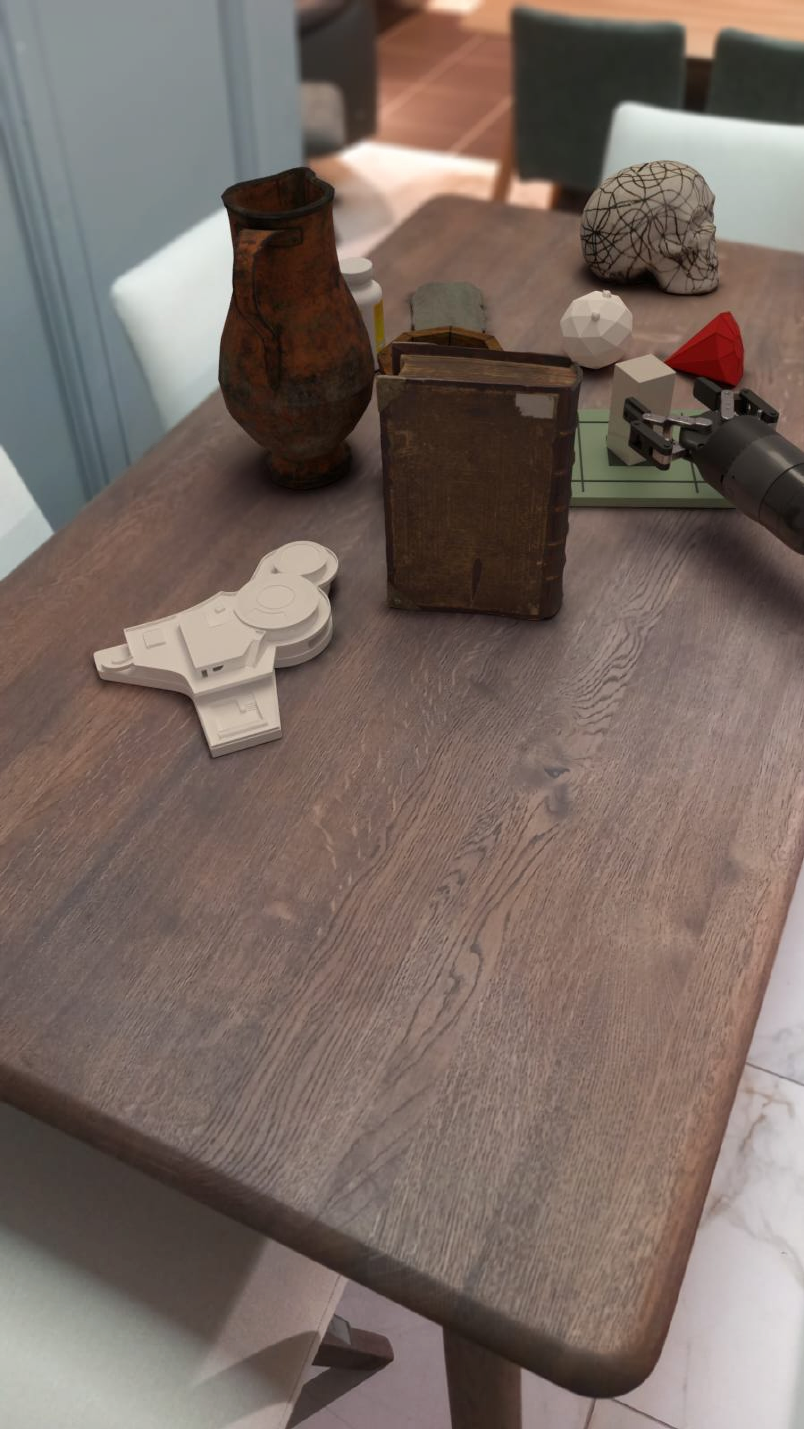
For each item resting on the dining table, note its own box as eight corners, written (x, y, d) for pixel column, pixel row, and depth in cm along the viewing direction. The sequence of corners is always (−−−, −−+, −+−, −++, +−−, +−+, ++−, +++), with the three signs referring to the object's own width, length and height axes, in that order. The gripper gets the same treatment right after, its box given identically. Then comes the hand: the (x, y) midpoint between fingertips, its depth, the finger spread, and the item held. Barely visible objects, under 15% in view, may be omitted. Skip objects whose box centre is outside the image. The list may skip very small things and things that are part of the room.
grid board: (713, 418, 129) (715, 408, 128) (735, 508, 116) (737, 497, 115) (542, 417, 130) (542, 407, 129) (545, 506, 118) (545, 495, 117)
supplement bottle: (373, 347, 144) (368, 249, 135) (394, 369, 140) (390, 269, 131) (326, 359, 142) (317, 260, 133) (346, 381, 138) (338, 281, 129)
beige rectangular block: (640, 435, 124) (651, 353, 117) (663, 455, 121) (676, 372, 114) (605, 446, 123) (614, 363, 116) (628, 466, 120) (639, 382, 113)
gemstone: (641, 375, 133) (720, 357, 127) (650, 314, 136) (728, 294, 130) (670, 414, 140) (747, 399, 134) (679, 356, 142) (755, 338, 136)
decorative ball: (641, 402, 136) (619, 325, 127) (564, 399, 142) (538, 325, 133) (665, 352, 140) (645, 273, 130) (589, 351, 145) (565, 275, 136)
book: (567, 591, 107) (588, 353, 90) (553, 638, 103) (573, 397, 85) (404, 566, 111) (393, 333, 93) (383, 610, 107) (368, 373, 89)
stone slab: (479, 299, 155) (409, 293, 154) (482, 280, 153) (411, 274, 152) (489, 380, 139) (411, 374, 139) (493, 360, 137) (414, 354, 137)
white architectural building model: (84, 620, 107) (72, 584, 104) (327, 557, 113) (323, 521, 110) (127, 782, 92) (115, 746, 89) (405, 701, 98) (403, 664, 94)
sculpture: (666, 317, 147) (683, 201, 136) (555, 273, 157) (562, 162, 147) (735, 280, 153) (755, 167, 143) (623, 241, 164) (635, 133, 153)
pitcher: (395, 428, 130) (382, 159, 108) (352, 535, 115) (327, 250, 94) (261, 418, 133) (222, 154, 111) (202, 521, 118) (145, 240, 97)
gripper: (829, 418, 103) (724, 345, 113) (703, 457, 99) (606, 378, 109) (811, 486, 108) (712, 410, 119) (690, 526, 104) (599, 444, 115)
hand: (661, 395), depth 114 cm, fingers open, 8 cm apart
